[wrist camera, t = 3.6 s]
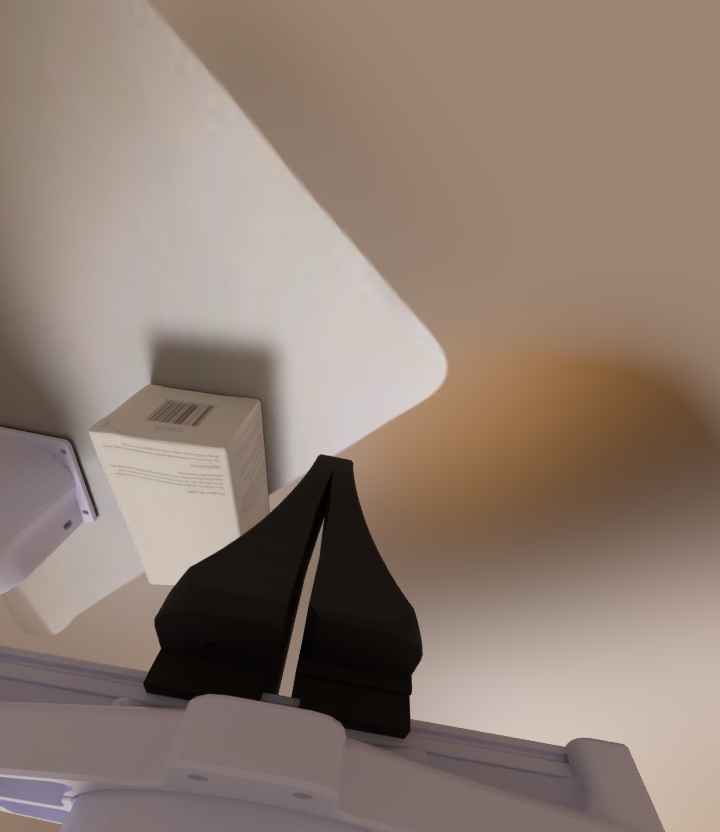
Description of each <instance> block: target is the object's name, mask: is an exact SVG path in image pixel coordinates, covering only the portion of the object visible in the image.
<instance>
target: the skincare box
mask: <svg viewBox="0 0 720 832" xmlns="http://www.w3.org/2000/svg"><path fill="white" fill-rule="evenodd" d="M88 433H89V435H90V438H91V440H92V442H93V445H94V447H95V450H96V452H97V455H98V457H99V460H100V462H101V465H102V467H103V470H104V472H105V474H106V477H107V479H108V482H109V484H110V486H111V489H112V491H113V494H114V496H115V499H116V501H117V504H118V506H119V508H120V511H121V513H122V516H123V518H124V521H125V523H126V526H127V528H128V531H129V533H130V536H131V538H132V540H133V543H134V545H135V548H136V551H137V553H138V555H139V558H140V560H141V563H142V565H143V568H144V570H145V573H146V575H147V578H148V581H149V583H151V584H164V585H176V583H177V582H178V581H179V579H180V578H181V577H182V576H183V574H184V573H185V572H186V571H187V570H188V568H189V567H191V566H193V565H194V564H196V563H198V562H200V561H202V560H203V559H205V558H207V557H209V556H210V555H212V554H214V553H216V552H217V551H219V550H220V549H222V548H224V547H225V546H227V545H228V544H230V543H231V542H233V541H234V540H236V539H237V538H239V537H240V536H242V535H243V534H244V533H246V532H247V531H248V530H250V529H251V528H252V527H254V526H255V525H256V524H257V523H259V522H260V521H261V520H262V519H264V518H265V517H266V516H267V515H268V514H269V513H270V509H269V498H268V486H267V473H266V459H265V447H264V436H263V422H262V409H261V401H259V400H258V399H255V398H246V397H233V396H223V395H215V394H209V393H202V392H195V391H188V390H181V389H175V388H168V387H163V386H159V385H150V384H149V385H147V386H145V387H144V388H143V389H141V390H140V391H139V392H137V393H136V394H135V395H133V396H132V397H131V398H129V399H128V400H127V401H126V402H125V403H123V404H122V405H121V406H120V407H118V408H117V409H116V410H115V411H113V412H112V413H111V414H109V415H108V416H107V417H105V418H103V419H102V420H100V421H99V422H97V423H96V424H95V425H93V426H92V427H91V428H90V429H89V431H88Z"/></svg>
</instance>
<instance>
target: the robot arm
mask: <svg viewBox="0 0 720 832" xmlns="http://www.w3.org/2000/svg"><path fill="white" fill-rule="evenodd" d="M96 519H97V517H96V514H95V511H94V508H93V505H92V503H91V500H90V497H89V494H88V491H87V488H86V485H85V482H84V480H83V477H82V474H81V471H80V468H79V465H78V462H77V460H76V457H75V454H74V451H73V448H72V445H71V443H70V442H69V441H67V440H65V439H61V438H56V437H50V436H45V435H40V434H35V433H30V432H25V431H20V430H15V429H9V428H4V427H0V595H1V594H3V593H5V592H6V591H8V590H10V589H12V588H13V587H15V586H16V585H18V584H19V583H21V582H22V581H23V580H25V579H26V578H27V577H28V576H29V575H30V574H31V573H32V572H33V571H34V570H35V569H36V568H37V567H38V566H39V565H40V564H41V563H42V562H43V561H44V560H45V559H46V558H47V557H48V556H49V555H50V554H51V553H52V552H53V551H54V550H55V549H56V548H57V547H58V546H59V545H60V544H61V543H62V542H63V541H64V540H65V539H66V538H67V537H69V536H70V535H71V534H72V533H73V532H74V531H75V530H76V529H77V528H78V527H79V526H80V525H81V524H82V523H83V522H87V523H94V522H95V521H96ZM323 519H324V524H323V532H322V541H321V550H320V558H319V562H318V566H317V571H316V575H315V580H314V584H313V589H312V593H311V597H310V602H309V607H308V612H307V618H306V624H305V629H304V635H303V640H302V645H301V650H300V654H299V659H298V664H297V669H296V674H295V680H294V686H293V691H292V697H286V696H280V695H278V693H279V689H280V685H281V680H282V675H283V671H284V667H285V662H286V658H287V653H288V649H289V645H290V640H291V635H292V631H293V627H294V623H295V618H296V614H297V609H298V605H299V601H300V597H301V592H302V588H303V584H304V579H305V576H306V572H307V569H308V565H309V562H310V559H311V556H312V553H313V550H314V547H315V544H316V541H317V538H318V535H319V532H320V529H321V526H322V523H323ZM154 620H155V621H154V622H155V629H156V632H157V636H158V639H159V643H160V646H161V650H160V652H159V654H158V656H157V657H156V659H155V661H154V663H153V665H152V667H151V669H150V671H149V672H147V671H141V670H136V669H130V668H125V667H120V666H114V665H108V664H103V663H97V662H92V661H86V660H81V659H75V658H70V657H64V656H59V655H53V654H48V653H42V652H36V651H31V650H26V649H20V648H14V647H9V646H3V645H0V811H4V812H8V813H13V814H17V815H22V816H27V817H31V818H36V819H40V820H45V821H50V822H54V823H59V824H63V825H62V827H61V828H60V831H59V832H665V830H664V828H663V826H662V824H661V821H660V819H659V817H658V815H657V812H656V810H655V808H654V805H653V803H652V801H651V799H650V797H649V794H648V792H647V790H646V787H645V785H644V783H643V781H642V778H641V776H640V774H639V772H638V769H637V767H636V765H635V762H634V760H633V758H632V756H631V753H630V751H629V749H628V747H626V746H625V745H624V744H619V743H614V742H608V741H603V740H597V739H591V738H577V739H574V740H572V741H570V742H569V743H568V744H567V745H566V746H565V747H562V746H557V745H551V744H546V743H540V742H535V741H529V740H524V739H518V738H513V737H507V736H502V735H496V734H491V733H485V732H479V731H474V730H468V729H463V728H457V727H451V726H446V725H440V724H435V723H430V722H424V721H418V720H413V719H410V701H409V700H410V698H409V695H411V693H412V677H411V675H412V674H413V672H414V671H415V669H416V667H417V666H418V664H419V662H420V661H421V658H422V655H423V653H422V641H421V635H420V630H419V626H418V621H417V618H416V614H415V611H414V609H413V607H412V606H411V604H410V603H409V602H408V600H407V599H406V597H405V596H404V594H403V593H402V592H401V590H400V588H399V587H398V585H397V584H396V582H395V581H394V579H393V577H392V576H391V574H390V572H389V570H388V569H387V567H386V565H385V563H384V561H383V559H382V557H381V556H380V554H379V552H378V550H377V548H376V545H375V543H374V541H373V539H372V537H371V534H370V532H369V529H368V527H367V524H366V522H365V519H364V516H363V513H362V510H361V506H360V503H359V499H358V495H357V491H356V486H355V480H354V473H353V462H352V461H351V460H347V459H342V458H337V457H332V456H327V455H322V454H321V455H319V456H318V457H317V459H316V461H315V462H314V464H313V466H312V467H311V468H310V470H309V471H308V473H307V474H306V475H305V476H304V478H303V479H302V480H301V481H300V482H299V484H298V485H297V486H296V487H295V488H294V490H293V491H292V492H291V493H290V494H289V495H288V496H287V497H286V498H285V499H284V500H283V501H282V502H281V503H280V504H279V505H278V506H277V507H276V508H275V509H274V510H273V511H272V512H271V513H269V514H268V515H267V516H266V517H265V518H264V519H262V520H261V521H260V522H259V523H257V524H256V525H255V526H254V527H252V528H251V529H250V530H248V531H247V532H246V533H244V534H243V535H242V536H240V537H239V538H237V539H236V540H234V541H233V542H231V543H230V544H228V545H227V546H225V547H224V548H222V549H220V550H219V551H217V552H216V553H214V554H212V555H210V556H209V557H207V558H205V559H203V560H202V561H200V562H198V563H196V564H194V565H193V566H191V567H189V568H188V570H187V571H186V572H185V573H184V574H183V576H182V577H181V578H180V579H179V581H178V582H177V583H176V585H175V586H174V587H173V589H172V590H171V592H170V593H169V595H168V596H167V598H166V600H165V602H164V603H163V605H162V607H161V608H160V610H159V612H158V614H157V615H156V617H155V619H154Z"/></svg>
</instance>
